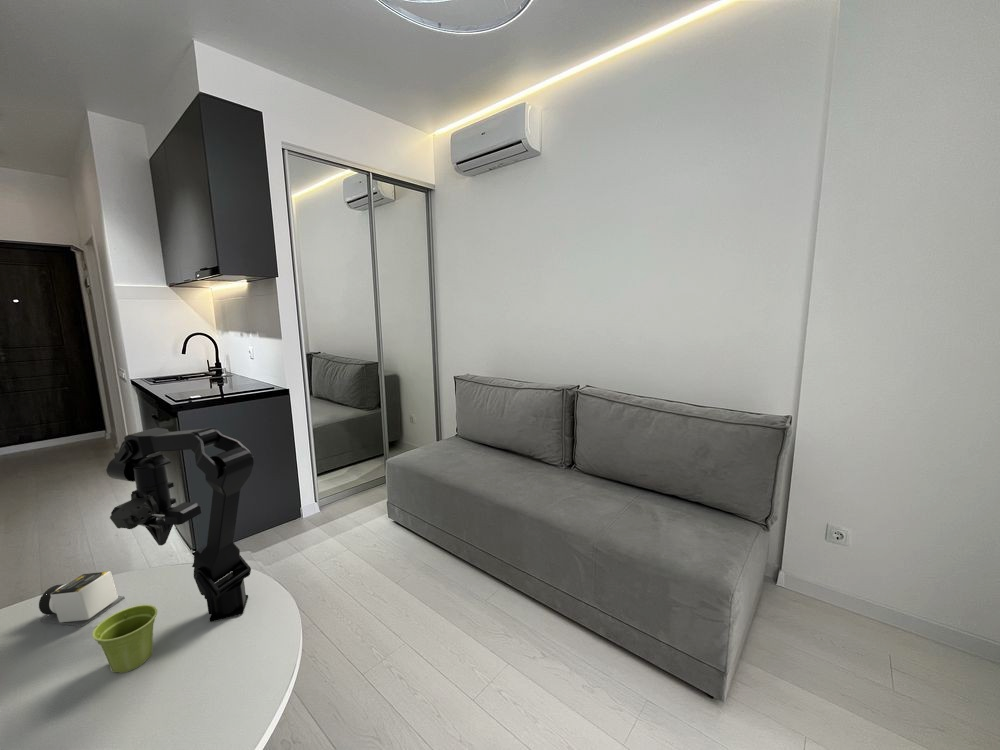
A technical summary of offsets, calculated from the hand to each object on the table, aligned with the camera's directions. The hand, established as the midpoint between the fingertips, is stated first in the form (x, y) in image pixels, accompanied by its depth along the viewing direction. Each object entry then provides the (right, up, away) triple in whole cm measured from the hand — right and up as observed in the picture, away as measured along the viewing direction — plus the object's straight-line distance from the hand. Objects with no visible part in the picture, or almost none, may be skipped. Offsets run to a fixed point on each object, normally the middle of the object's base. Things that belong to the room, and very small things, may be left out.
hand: (162, 544), depth 98 cm
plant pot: (+8, -16, -17) cm, 25 cm away
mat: (-16, -14, -3) cm, 21 cm away
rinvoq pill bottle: (-10, -9, -5) cm, 14 cm away
